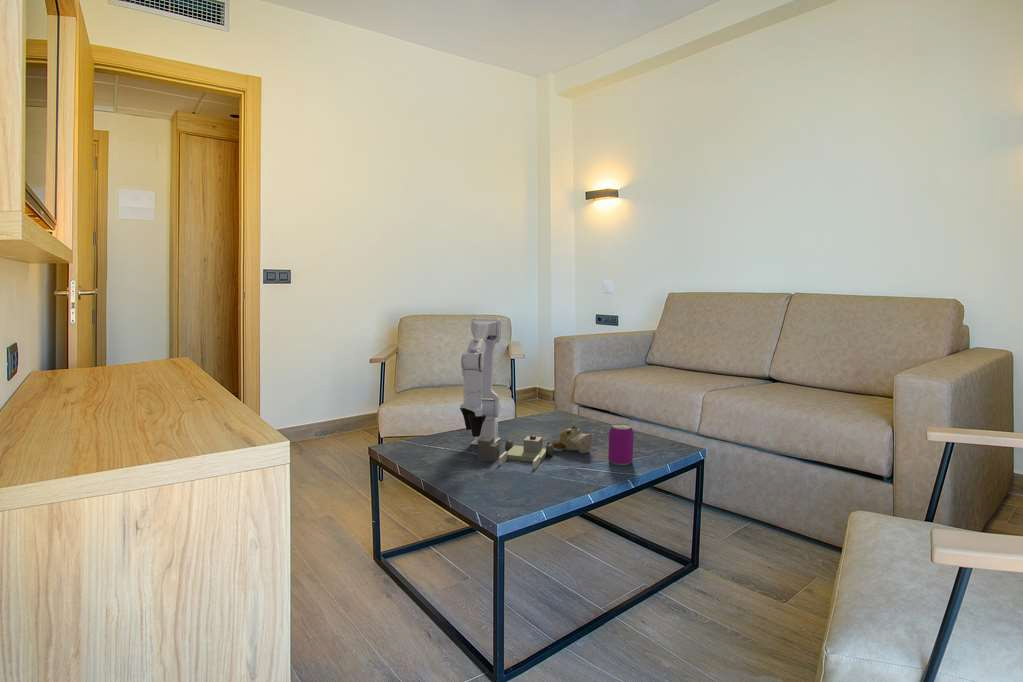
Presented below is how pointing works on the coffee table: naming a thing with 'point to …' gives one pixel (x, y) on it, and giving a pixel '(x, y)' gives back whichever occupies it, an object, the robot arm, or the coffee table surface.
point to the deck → (527, 451)
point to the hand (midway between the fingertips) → (472, 432)
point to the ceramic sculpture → (573, 440)
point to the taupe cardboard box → (488, 449)
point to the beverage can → (621, 444)
